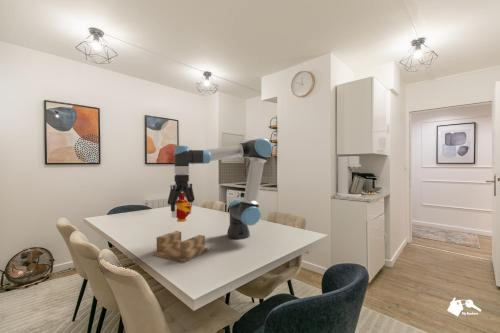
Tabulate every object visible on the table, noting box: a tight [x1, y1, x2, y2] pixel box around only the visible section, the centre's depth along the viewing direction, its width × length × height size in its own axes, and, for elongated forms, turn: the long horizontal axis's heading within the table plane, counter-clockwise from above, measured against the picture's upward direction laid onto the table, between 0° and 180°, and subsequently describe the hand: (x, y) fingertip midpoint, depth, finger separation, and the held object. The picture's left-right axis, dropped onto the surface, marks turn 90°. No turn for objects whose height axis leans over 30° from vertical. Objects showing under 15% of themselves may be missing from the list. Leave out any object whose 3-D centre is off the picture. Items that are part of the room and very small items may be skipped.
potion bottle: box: [175, 192, 192, 223], centre depth 128 cm, size 10×10×15 cm
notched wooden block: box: [152, 230, 209, 264], centre depth 128 cm, size 18×22×9 cm
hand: (181, 215), depth 128 cm, fingers closed on potion bottle, 10 cm apart
